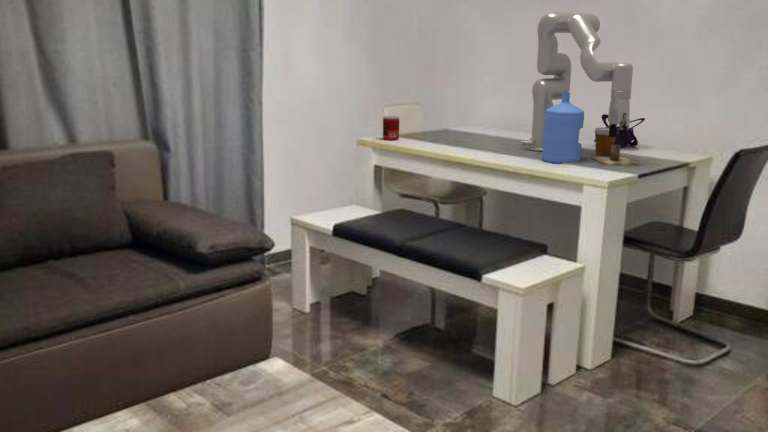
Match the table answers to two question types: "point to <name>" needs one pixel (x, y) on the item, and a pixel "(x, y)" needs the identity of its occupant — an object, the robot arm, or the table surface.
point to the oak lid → (614, 158)
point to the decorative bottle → (629, 136)
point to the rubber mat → (612, 165)
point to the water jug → (562, 132)
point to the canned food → (390, 128)
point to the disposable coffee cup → (603, 141)
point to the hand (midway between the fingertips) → (617, 138)
